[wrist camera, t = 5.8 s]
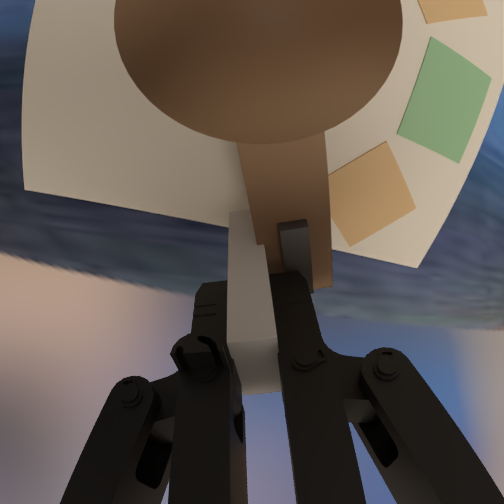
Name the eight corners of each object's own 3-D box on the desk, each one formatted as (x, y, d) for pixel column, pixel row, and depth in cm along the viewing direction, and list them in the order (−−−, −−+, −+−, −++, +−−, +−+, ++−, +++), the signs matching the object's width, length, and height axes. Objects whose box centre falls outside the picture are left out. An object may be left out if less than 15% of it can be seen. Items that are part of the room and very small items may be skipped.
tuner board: (98, -126, 4) (88, -134, 3) (510, -7, 7) (525, -6, 6) (36, 180, 14) (23, 190, 13) (409, 255, 18) (417, 269, 16)
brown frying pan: (146, -30, 8) (96, -63, 4) (331, -57, 7) (374, -101, 3) (215, 248, 15) (207, 323, 11) (360, 226, 15) (396, 294, 11)
